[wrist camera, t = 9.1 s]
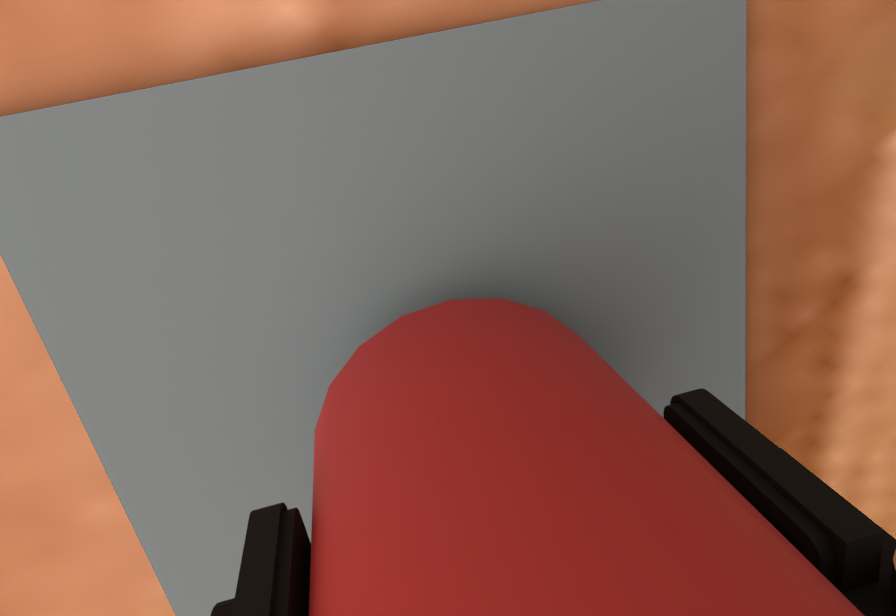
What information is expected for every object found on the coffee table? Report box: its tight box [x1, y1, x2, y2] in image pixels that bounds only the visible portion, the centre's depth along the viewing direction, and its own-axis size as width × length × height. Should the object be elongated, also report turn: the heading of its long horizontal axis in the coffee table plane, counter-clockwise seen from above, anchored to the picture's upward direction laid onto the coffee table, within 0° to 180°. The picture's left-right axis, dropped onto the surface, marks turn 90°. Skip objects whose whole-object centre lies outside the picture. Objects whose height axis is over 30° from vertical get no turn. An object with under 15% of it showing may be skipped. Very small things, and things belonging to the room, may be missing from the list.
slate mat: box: [0, 0, 747, 616], centre depth 15 cm, size 16×16×1 cm
